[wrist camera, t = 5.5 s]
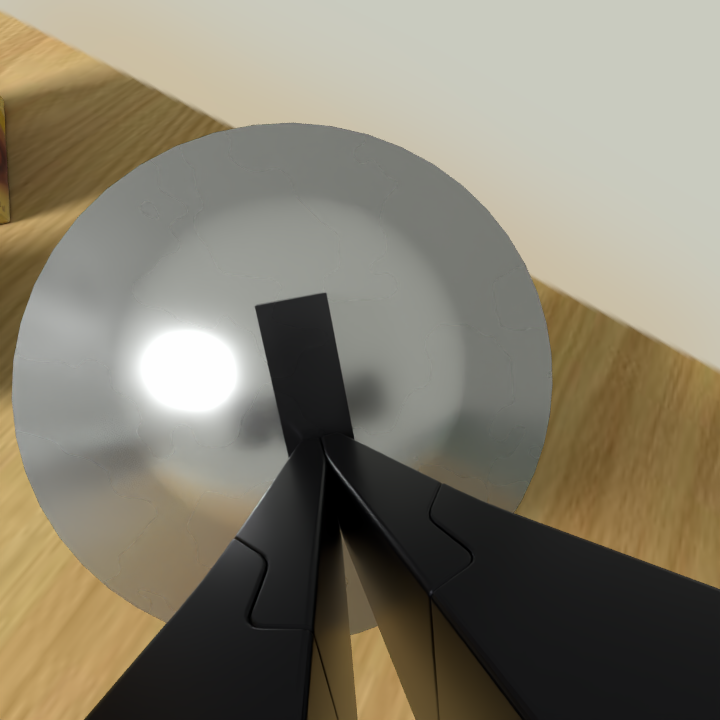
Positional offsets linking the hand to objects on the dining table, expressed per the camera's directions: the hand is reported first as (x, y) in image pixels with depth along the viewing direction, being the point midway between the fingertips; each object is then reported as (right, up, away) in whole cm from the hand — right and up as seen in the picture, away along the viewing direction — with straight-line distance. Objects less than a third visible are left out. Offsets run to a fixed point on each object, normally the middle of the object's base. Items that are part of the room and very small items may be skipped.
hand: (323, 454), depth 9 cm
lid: (-1, +1, +2) cm, 2 cm away
